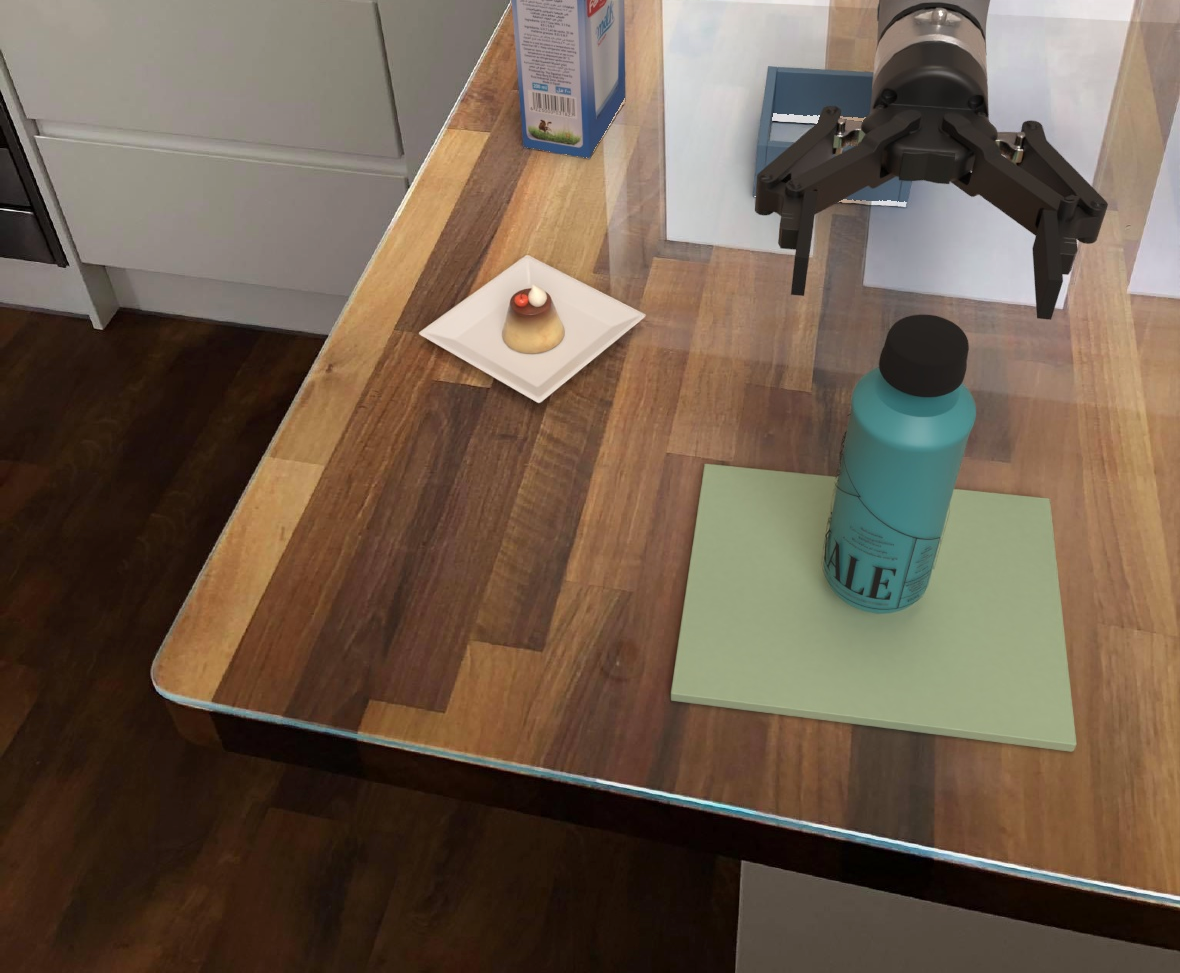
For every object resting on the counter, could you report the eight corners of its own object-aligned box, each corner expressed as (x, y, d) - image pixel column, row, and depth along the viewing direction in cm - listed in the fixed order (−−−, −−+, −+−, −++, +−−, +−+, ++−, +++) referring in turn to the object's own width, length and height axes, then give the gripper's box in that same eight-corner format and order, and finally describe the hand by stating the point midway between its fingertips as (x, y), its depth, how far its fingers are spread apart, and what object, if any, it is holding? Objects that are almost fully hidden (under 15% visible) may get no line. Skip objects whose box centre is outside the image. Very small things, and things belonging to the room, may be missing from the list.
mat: (1047, 506, 78) (1050, 497, 78) (1073, 752, 66) (1077, 744, 66) (704, 471, 81) (704, 463, 81) (670, 700, 69) (670, 693, 69)
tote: (906, 126, 109) (915, 74, 105) (906, 208, 100) (916, 155, 97) (763, 117, 110) (768, 65, 107) (752, 197, 102) (756, 144, 98)
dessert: (419, 344, 91) (410, 293, 87) (527, 265, 97) (523, 215, 93) (540, 414, 85) (535, 363, 82) (646, 326, 91) (647, 275, 88)
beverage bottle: (926, 553, 75) (996, 296, 60) (927, 641, 71) (1003, 388, 56) (819, 540, 76) (862, 285, 61) (813, 627, 72) (858, 374, 57)
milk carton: (562, 92, 114) (551, -132, 100) (625, 102, 113) (623, -124, 98) (523, 148, 108) (504, -81, 93) (589, 160, 107) (580, -72, 92)
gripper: (746, 26, 81) (701, 212, 67) (1141, 50, 77) (1181, 253, 63) (740, 127, 87) (697, 318, 73) (1108, 154, 83) (1138, 362, 69)
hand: (922, 288), depth 68 cm, fingers open, 13 cm apart
